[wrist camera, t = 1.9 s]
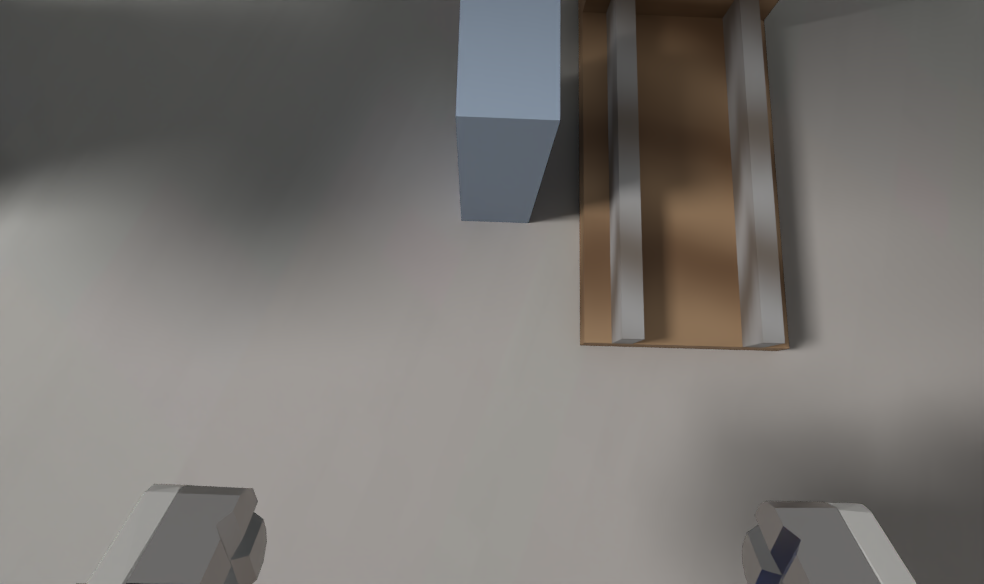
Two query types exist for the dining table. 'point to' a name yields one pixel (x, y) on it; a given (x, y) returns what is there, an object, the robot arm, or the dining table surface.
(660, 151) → the brown wooden holder
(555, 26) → the pale blue rectangular block
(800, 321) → the dining table surface
